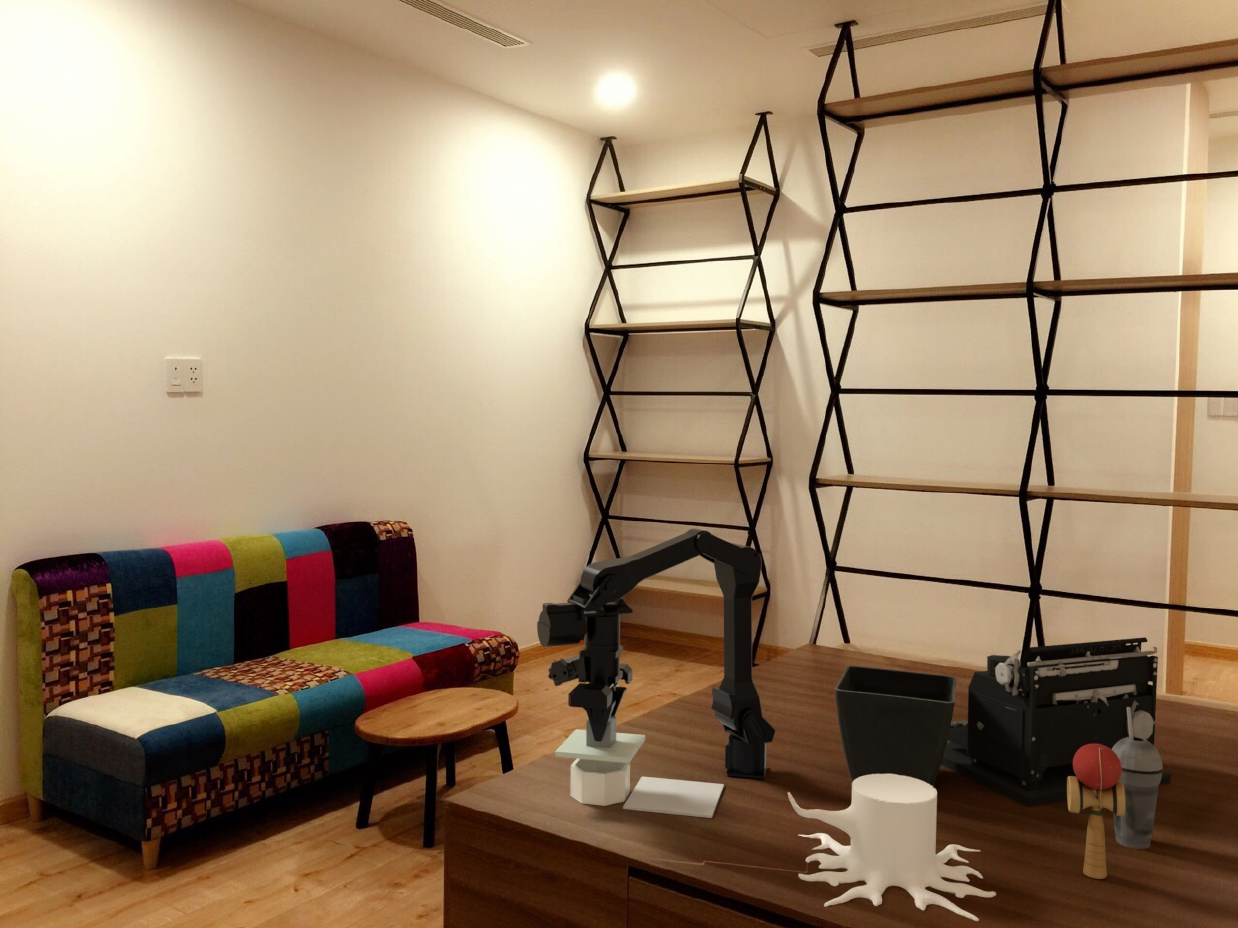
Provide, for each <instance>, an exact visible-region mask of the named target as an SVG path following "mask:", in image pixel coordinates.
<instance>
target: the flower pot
mask: <svg viewBox="0 0 1238 928" xmlns="http://www.w3.org/2000/svg"><path fill="white" fill-rule="evenodd" d="M956 685H957V678H956V677H955V676H952V675H943V674H935V673H926V672H917V671H907V670H899V669H898V670H897V669H889V668H881V667H880V668H879V667H868V666H859V665H847V666H846V668H845V670H844V672H843V674H842V676H841V678H840V679H839V681H838V683H837V685H836V686H835V701H836V702H835V703H836V710H837V711H836V713H837V720H838V725H839V727H838V728H839V731H840V737H841V743H842V749H843V753H844V756H845V761H846V765H847V768H848V771H849V775H850V776H849V777H850V778H851V782H853V781H854V780H856V778H858V777H860V776H865V775H871V774H896V775H901V776H907V777H912V778H915V779H919V780H921V781H924V782H926V783H927V784H930V785H931V786H933V787H934V785H935V782H936V780H937V777H938V774H939V771H940V768H941V766H942V765H941V762H942V759H943V756H944V752H945V748H946V744H947V743H948V736H949V731H950V726H952V725H951V724H952V719H953V717H954V716H953V714H954V709H955V701H956V699H955V698H956V697H955V695H956Z"/></svg>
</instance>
